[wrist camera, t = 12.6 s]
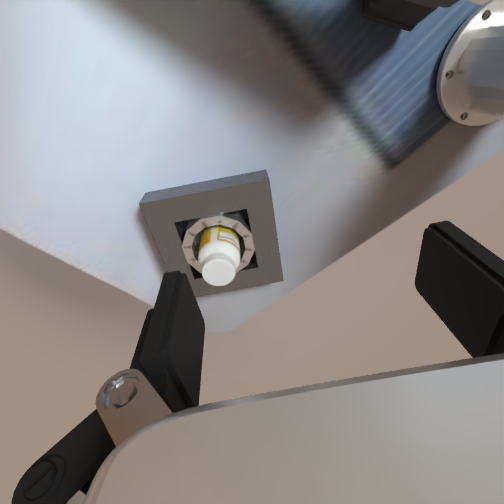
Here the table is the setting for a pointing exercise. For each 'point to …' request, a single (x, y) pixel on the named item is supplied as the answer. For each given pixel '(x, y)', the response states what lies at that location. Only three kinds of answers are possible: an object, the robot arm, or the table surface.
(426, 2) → the gun
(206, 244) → the supplement bottle
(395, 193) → the table surface
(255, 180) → the bore block
